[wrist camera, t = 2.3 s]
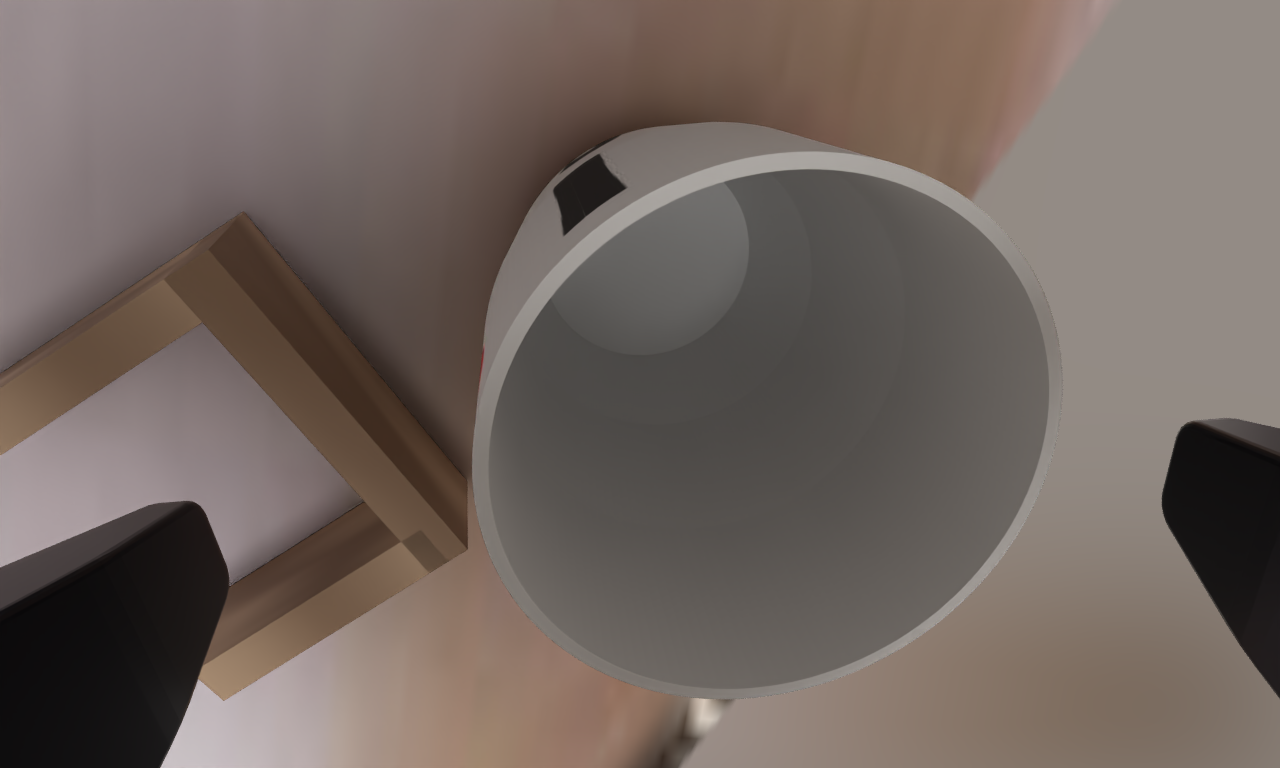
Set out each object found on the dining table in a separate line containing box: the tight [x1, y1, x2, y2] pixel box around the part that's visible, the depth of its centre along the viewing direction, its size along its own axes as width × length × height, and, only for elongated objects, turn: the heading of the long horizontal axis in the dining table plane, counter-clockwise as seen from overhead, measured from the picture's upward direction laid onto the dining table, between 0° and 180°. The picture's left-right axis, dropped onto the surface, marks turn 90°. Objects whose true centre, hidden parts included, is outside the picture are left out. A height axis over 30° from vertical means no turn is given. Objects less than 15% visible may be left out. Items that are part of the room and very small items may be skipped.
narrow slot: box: [0, 211, 468, 701], centre depth 20 cm, size 6×8×3 cm
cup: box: [472, 122, 1063, 699], centre depth 17 cm, size 8×8×10 cm
